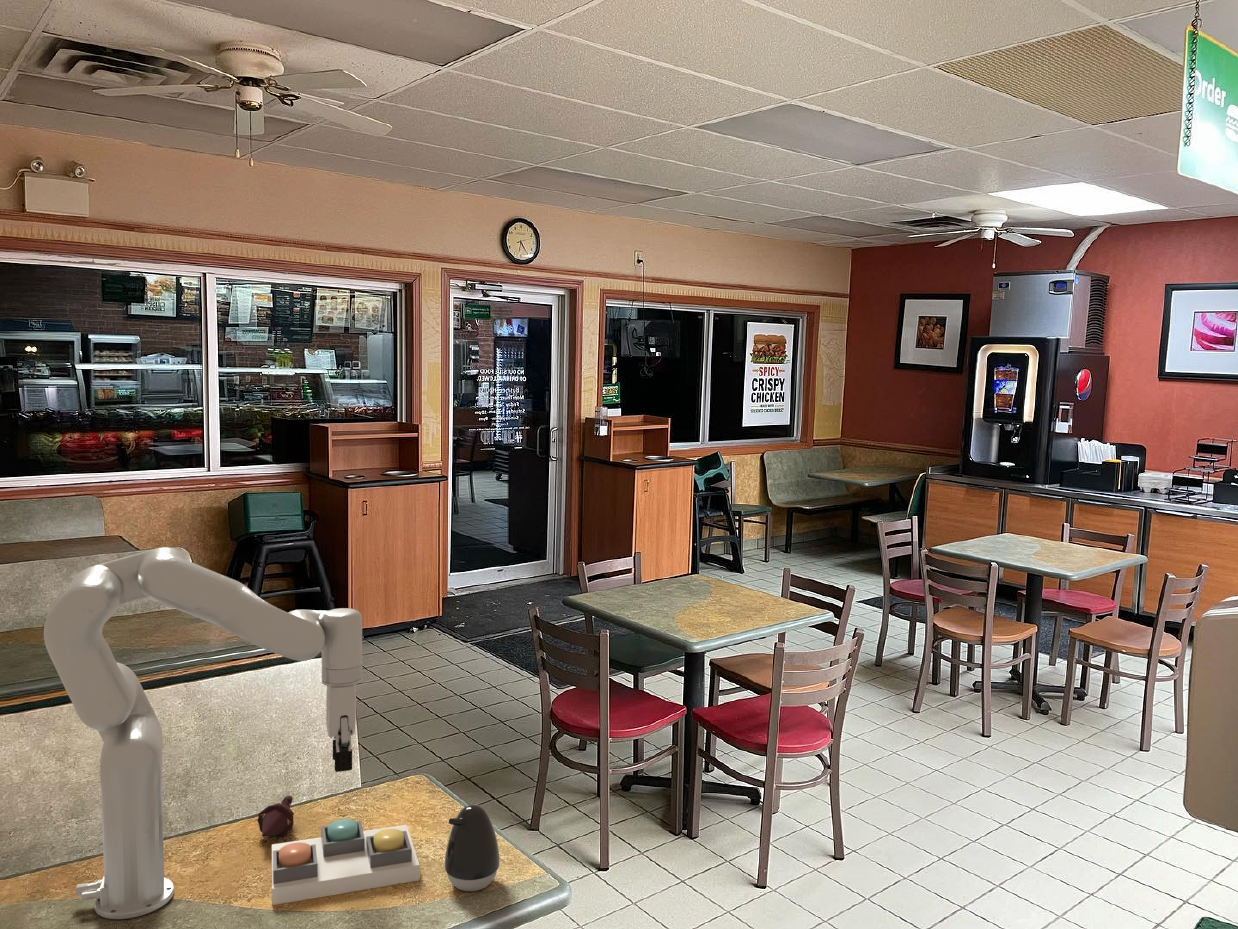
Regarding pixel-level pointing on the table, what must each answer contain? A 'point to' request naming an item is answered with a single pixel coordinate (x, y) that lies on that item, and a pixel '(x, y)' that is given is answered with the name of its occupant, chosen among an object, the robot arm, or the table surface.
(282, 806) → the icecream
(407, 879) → the button panel
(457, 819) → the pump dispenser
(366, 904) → the table surface
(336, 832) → the button teal
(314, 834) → the table surface
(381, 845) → the button ochre
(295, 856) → the button terracotta
